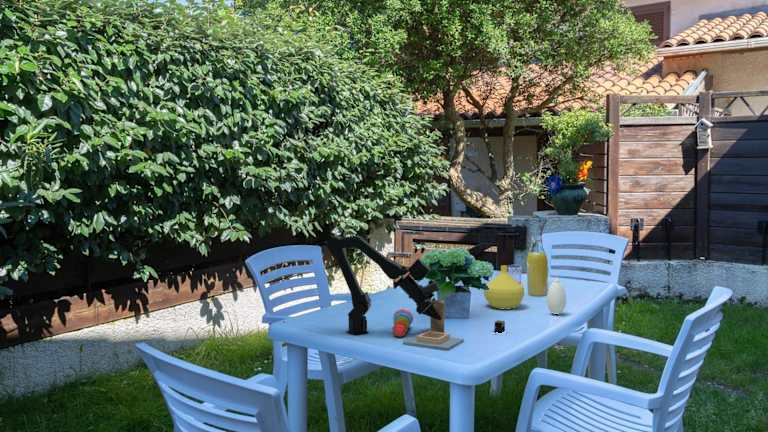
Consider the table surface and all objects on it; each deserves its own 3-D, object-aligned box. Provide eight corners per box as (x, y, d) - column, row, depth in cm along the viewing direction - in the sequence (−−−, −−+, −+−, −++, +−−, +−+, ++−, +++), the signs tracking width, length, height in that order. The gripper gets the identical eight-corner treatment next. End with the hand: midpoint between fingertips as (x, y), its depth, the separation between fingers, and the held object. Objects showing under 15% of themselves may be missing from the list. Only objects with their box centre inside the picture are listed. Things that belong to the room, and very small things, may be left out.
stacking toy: (397, 328, 273) (391, 344, 255) (391, 310, 273) (384, 324, 254) (415, 323, 272) (410, 339, 254) (409, 305, 271) (404, 319, 253)
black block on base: (495, 328, 271) (495, 317, 270) (513, 330, 267) (513, 319, 267) (485, 335, 260) (485, 323, 259) (504, 337, 256) (504, 325, 256)
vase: (475, 307, 310) (475, 265, 309) (500, 301, 322) (500, 261, 321) (507, 313, 296) (507, 270, 295) (532, 307, 309) (532, 265, 307)
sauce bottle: (558, 317, 287) (558, 275, 286) (543, 314, 294) (543, 273, 292) (569, 314, 292) (569, 273, 291) (554, 312, 298) (554, 271, 297)
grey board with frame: (402, 344, 245) (402, 336, 245) (420, 335, 257) (420, 328, 257) (448, 350, 236) (448, 342, 236) (463, 341, 249) (463, 333, 248)
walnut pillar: (430, 336, 257) (430, 302, 256) (431, 333, 262) (431, 300, 261) (443, 336, 256) (443, 302, 255) (444, 333, 261) (444, 300, 260)
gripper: (425, 278, 248) (455, 308, 248) (429, 270, 267) (457, 298, 266) (403, 299, 250) (433, 329, 249) (409, 290, 268) (437, 318, 268)
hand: (441, 318), depth 258 cm, fingers closed on walnut pillar, 5 cm apart
